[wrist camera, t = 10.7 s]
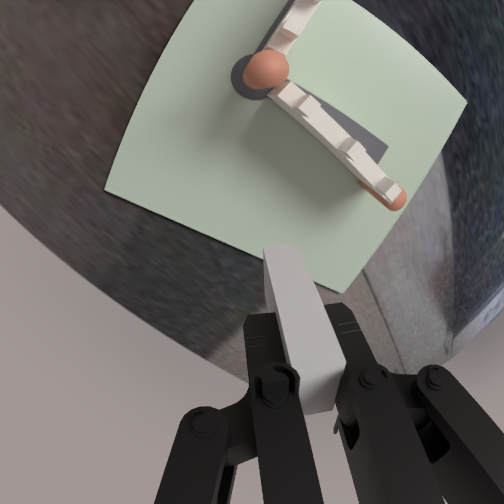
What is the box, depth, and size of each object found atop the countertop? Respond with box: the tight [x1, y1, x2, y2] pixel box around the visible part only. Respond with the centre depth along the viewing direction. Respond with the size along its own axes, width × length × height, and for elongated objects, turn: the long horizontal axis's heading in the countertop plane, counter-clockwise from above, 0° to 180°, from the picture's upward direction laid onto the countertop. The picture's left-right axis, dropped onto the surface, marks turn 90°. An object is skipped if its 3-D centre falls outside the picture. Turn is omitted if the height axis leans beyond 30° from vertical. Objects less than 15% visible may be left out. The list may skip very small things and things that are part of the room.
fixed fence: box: [242, 0, 322, 90], centre depth 15 cm, size 2×12×8 cm, turn 151°
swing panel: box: [267, 81, 407, 211], centre depth 19 cm, size 11×2×6 cm, turn 50°
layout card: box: [104, 0, 467, 294], centre depth 22 cm, size 24×23×1 cm
